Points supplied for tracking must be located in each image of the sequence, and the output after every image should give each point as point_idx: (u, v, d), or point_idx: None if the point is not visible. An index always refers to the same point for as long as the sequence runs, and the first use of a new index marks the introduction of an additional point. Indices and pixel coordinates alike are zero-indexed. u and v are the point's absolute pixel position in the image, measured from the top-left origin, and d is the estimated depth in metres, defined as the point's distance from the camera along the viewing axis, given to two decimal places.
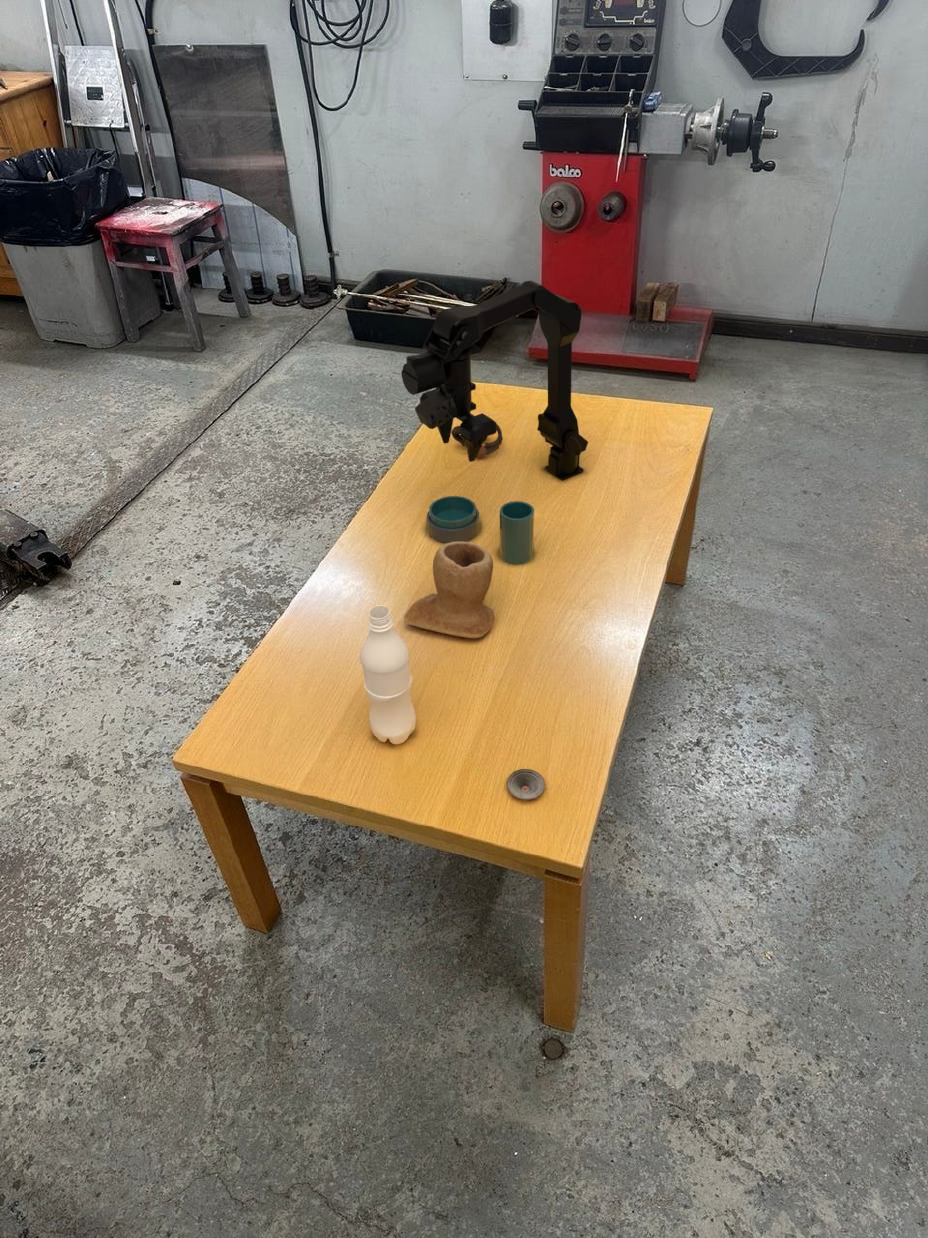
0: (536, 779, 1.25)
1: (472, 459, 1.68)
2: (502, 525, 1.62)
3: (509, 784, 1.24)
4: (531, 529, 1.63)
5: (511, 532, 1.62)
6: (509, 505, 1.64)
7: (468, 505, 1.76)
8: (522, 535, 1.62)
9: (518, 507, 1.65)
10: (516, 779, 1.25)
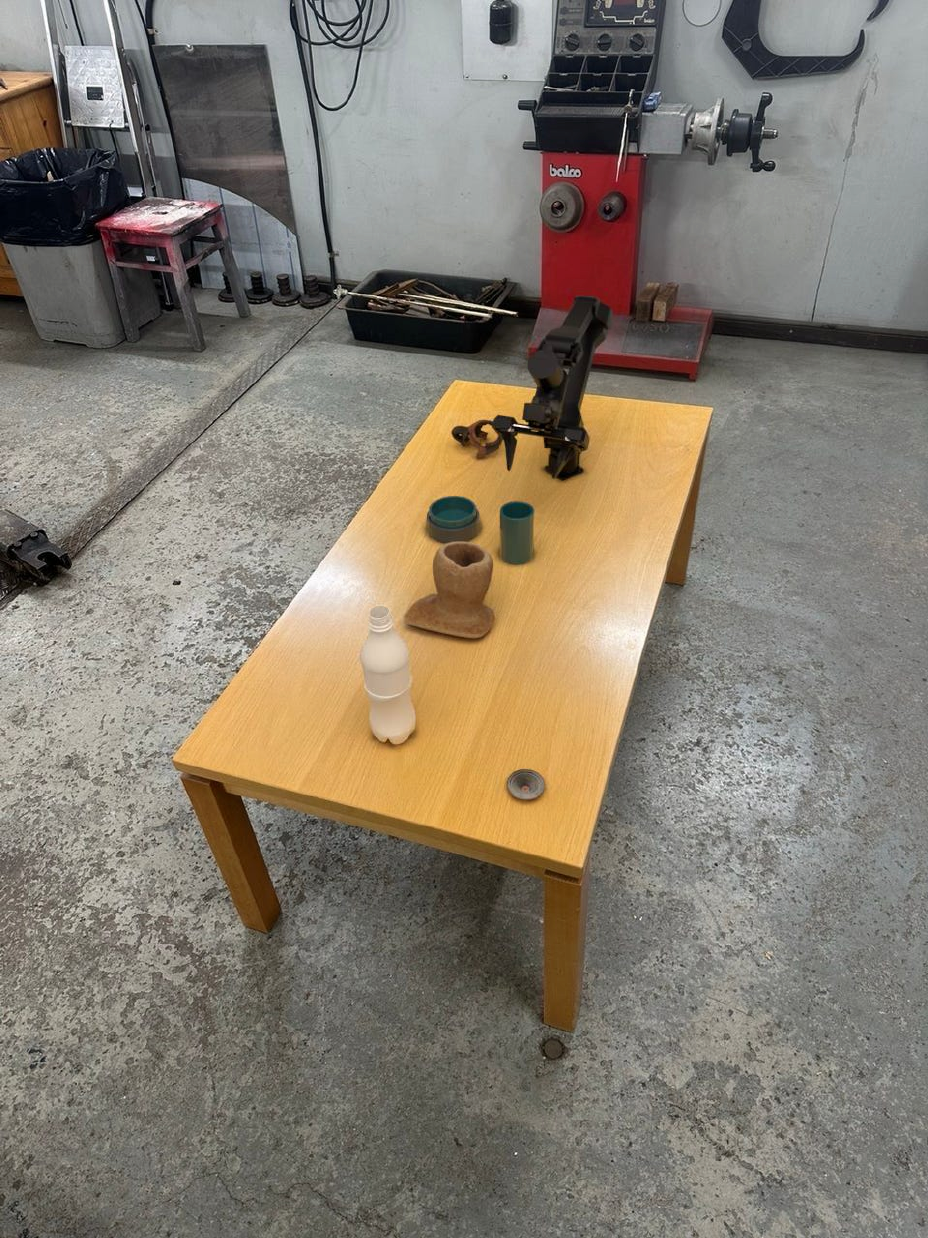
0: (536, 779, 1.25)
1: (555, 475, 1.65)
2: (502, 525, 1.62)
3: (509, 784, 1.24)
4: (531, 529, 1.63)
5: (511, 532, 1.62)
6: (509, 505, 1.64)
7: (468, 505, 1.76)
8: (522, 535, 1.62)
9: (518, 507, 1.65)
10: (516, 779, 1.25)
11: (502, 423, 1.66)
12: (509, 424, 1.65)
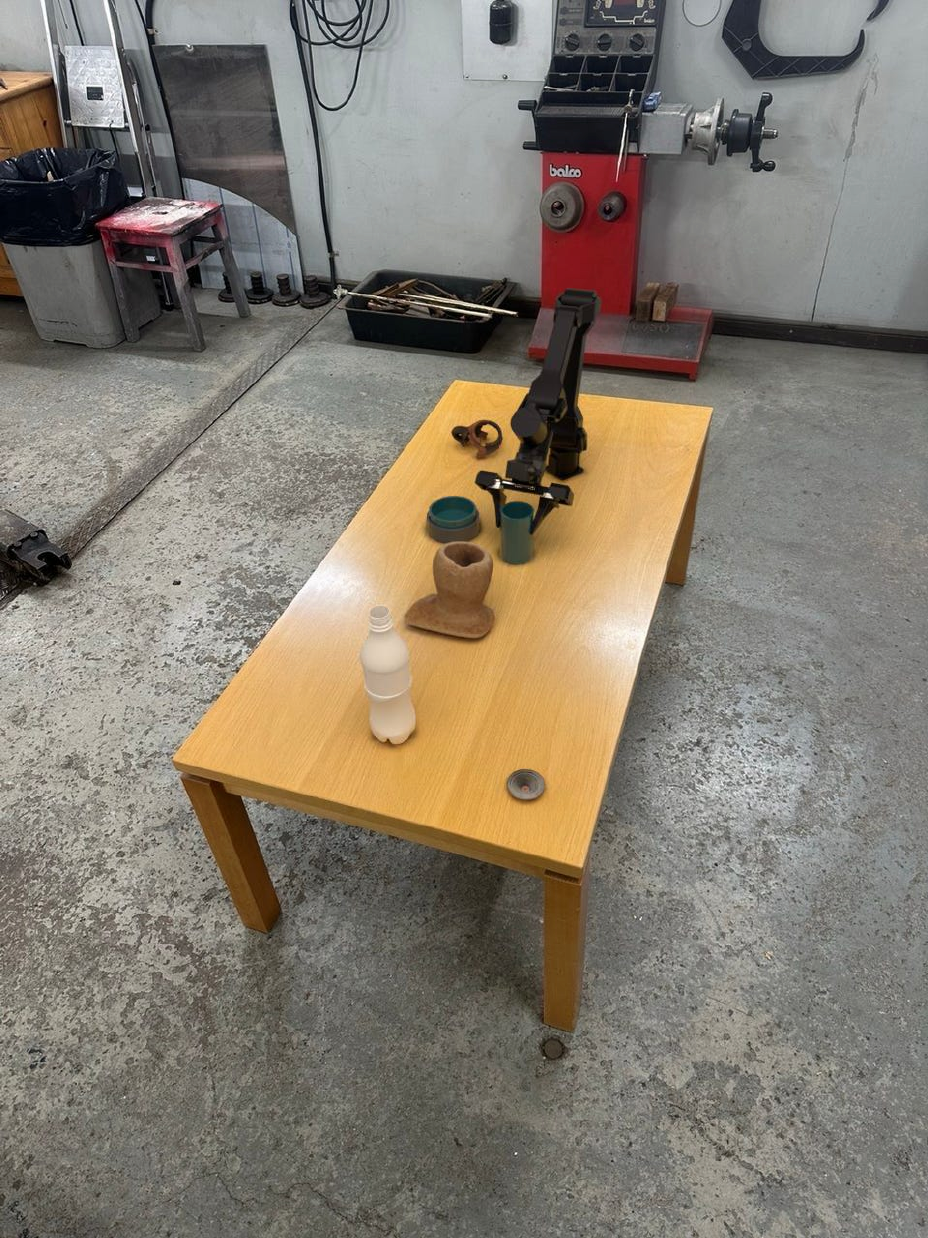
0: (536, 779, 1.25)
1: (534, 531, 1.62)
2: (502, 525, 1.62)
3: (509, 784, 1.24)
4: None
5: (511, 532, 1.62)
6: (509, 505, 1.64)
7: (468, 505, 1.76)
8: (522, 535, 1.62)
9: (518, 507, 1.65)
10: (516, 779, 1.25)
11: (485, 479, 1.63)
12: (492, 480, 1.63)
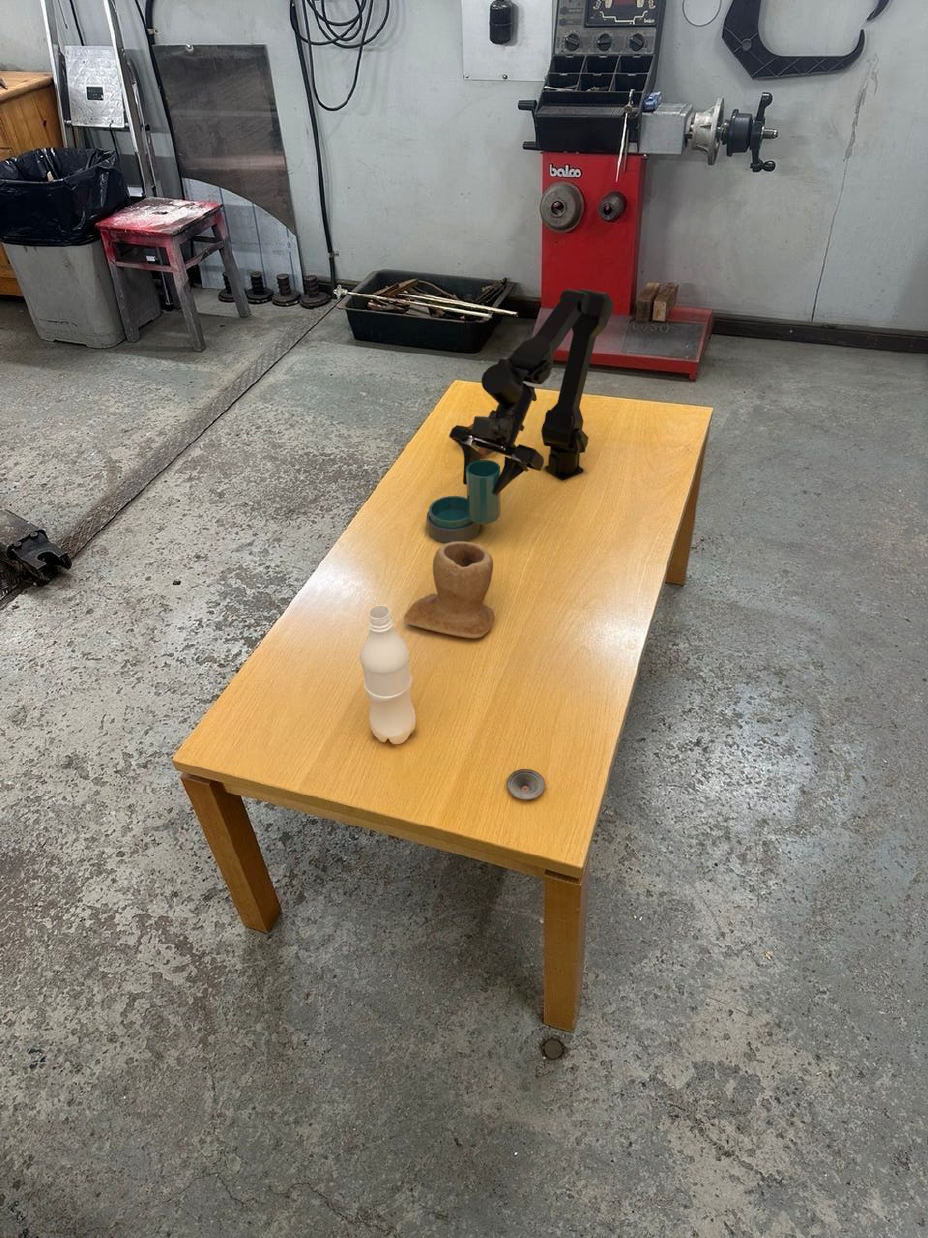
0: (536, 779, 1.25)
1: (497, 492, 1.61)
2: (467, 481, 1.62)
3: (509, 784, 1.24)
4: None
5: (474, 490, 1.61)
6: (479, 463, 1.63)
7: None
8: (484, 494, 1.61)
9: (488, 466, 1.64)
10: (516, 779, 1.25)
11: (458, 434, 1.63)
12: (464, 436, 1.62)
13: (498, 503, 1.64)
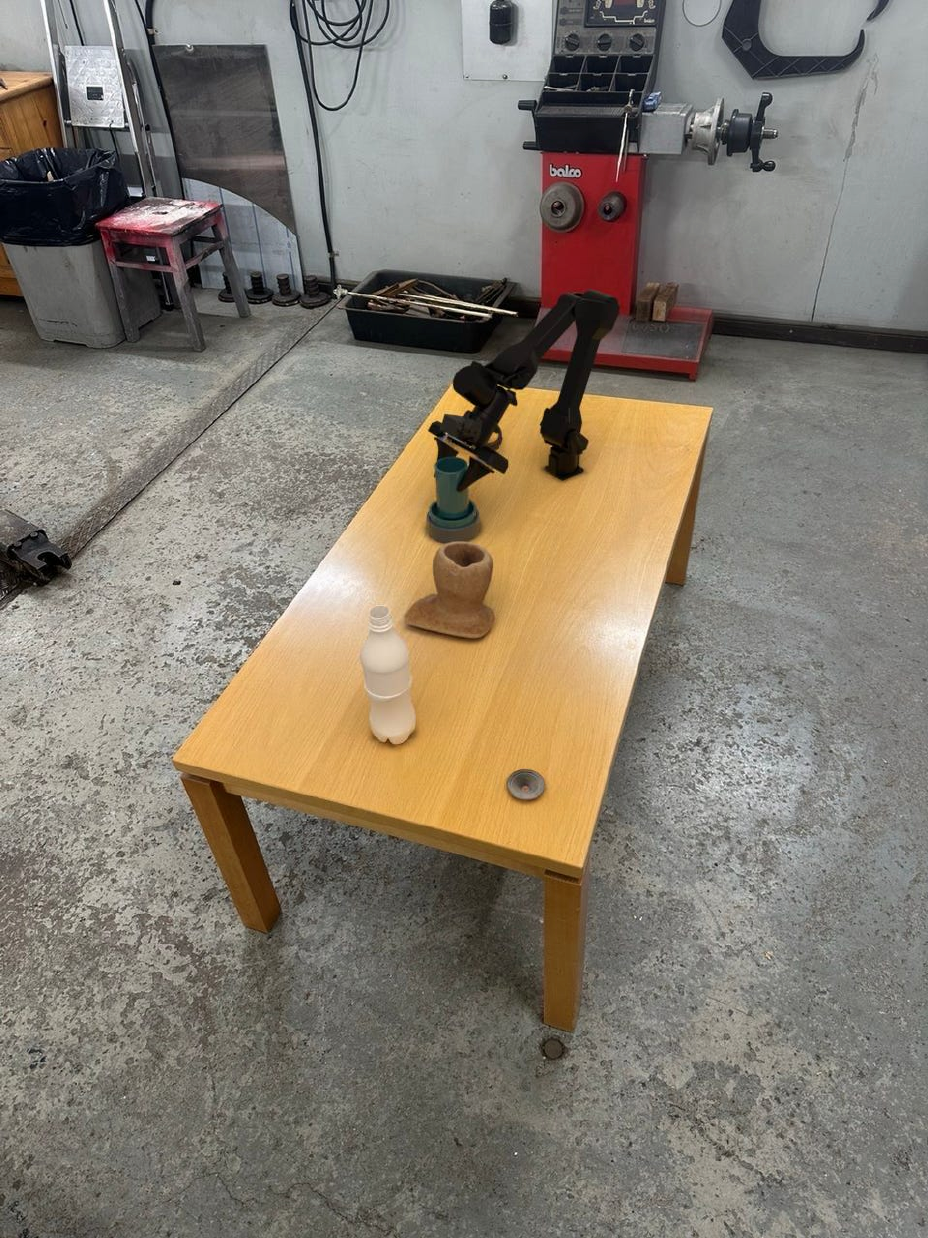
0: (536, 779, 1.25)
1: (460, 489, 1.66)
2: None
3: (509, 784, 1.24)
4: None
5: (439, 484, 1.67)
6: (450, 459, 1.69)
7: None
8: (448, 490, 1.67)
9: (459, 464, 1.69)
10: (516, 779, 1.25)
11: (435, 429, 1.69)
12: (439, 432, 1.68)
13: (463, 500, 1.69)
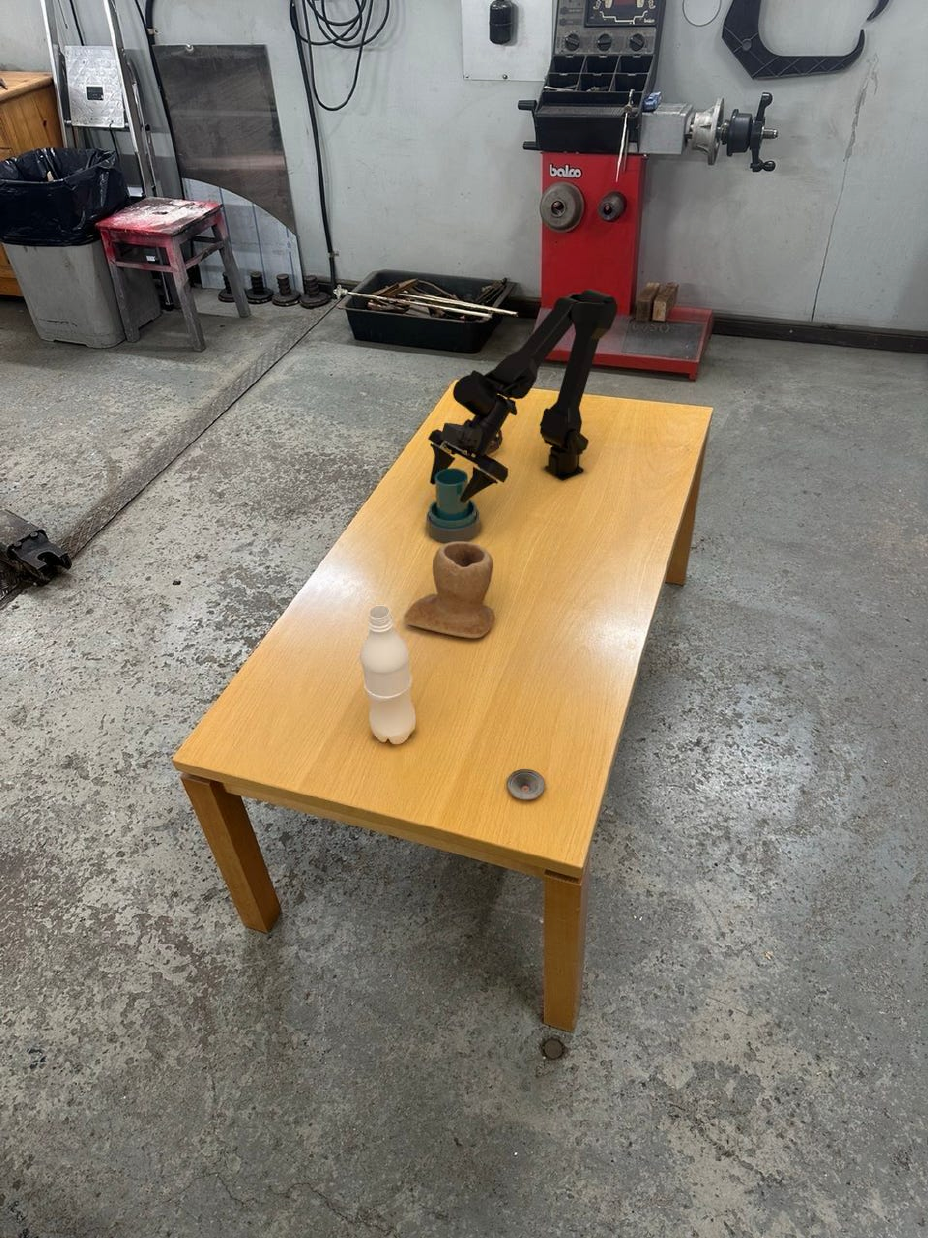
0: (536, 779, 1.25)
1: (463, 499, 1.67)
2: (435, 487, 1.70)
3: (509, 784, 1.24)
4: (459, 498, 1.68)
5: (439, 496, 1.69)
6: (450, 471, 1.71)
7: None
8: (448, 501, 1.68)
9: (459, 475, 1.71)
10: (516, 779, 1.25)
11: (435, 438, 1.70)
12: (440, 440, 1.69)
13: (464, 511, 1.71)
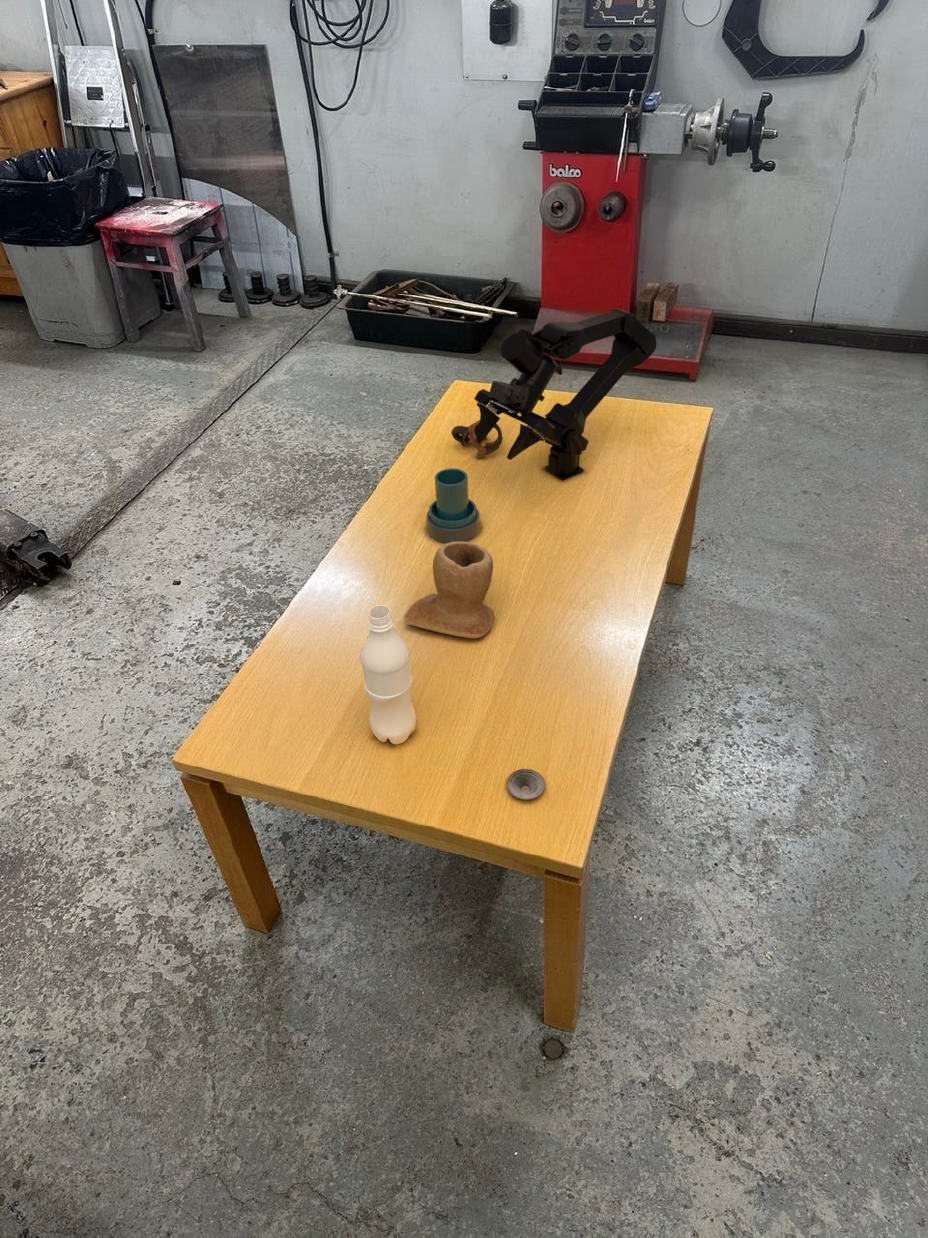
0: (536, 779, 1.25)
1: (510, 457, 1.70)
2: (435, 487, 1.70)
3: (509, 784, 1.24)
4: (459, 498, 1.68)
5: (439, 496, 1.69)
6: (450, 471, 1.71)
7: None
8: (448, 501, 1.68)
9: (459, 475, 1.71)
10: (516, 779, 1.25)
11: (481, 397, 1.74)
12: (486, 399, 1.73)
13: (464, 511, 1.71)
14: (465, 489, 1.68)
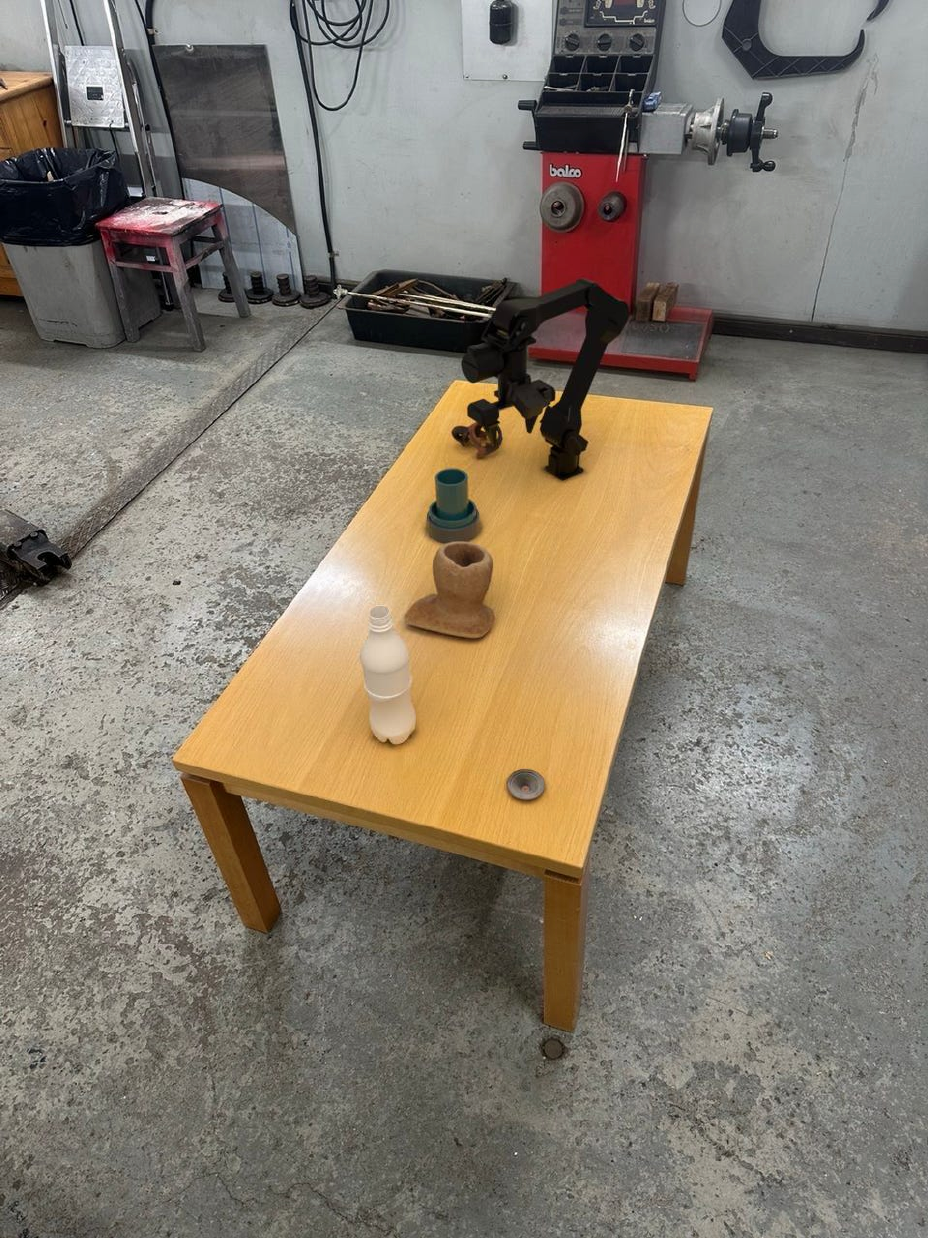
0: (536, 779, 1.25)
1: None
2: (435, 487, 1.70)
3: (509, 784, 1.24)
4: (459, 498, 1.68)
5: (439, 496, 1.69)
6: (450, 471, 1.71)
7: None
8: (448, 501, 1.68)
9: (459, 475, 1.71)
10: (516, 779, 1.25)
11: (492, 419, 1.68)
12: (498, 416, 1.68)
13: (464, 511, 1.71)
14: (465, 489, 1.68)
